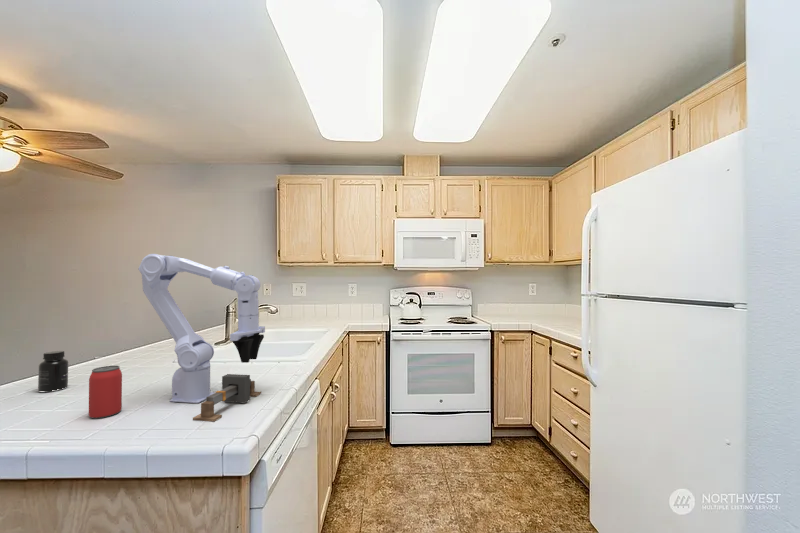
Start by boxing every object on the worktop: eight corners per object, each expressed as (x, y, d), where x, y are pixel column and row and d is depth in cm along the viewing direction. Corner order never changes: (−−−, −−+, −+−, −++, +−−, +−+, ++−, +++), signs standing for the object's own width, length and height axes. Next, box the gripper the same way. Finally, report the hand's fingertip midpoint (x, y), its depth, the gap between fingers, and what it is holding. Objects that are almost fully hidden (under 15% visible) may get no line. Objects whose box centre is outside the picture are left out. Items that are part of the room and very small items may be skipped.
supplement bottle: (71, 388, 113) (71, 351, 113) (41, 394, 107) (42, 355, 107) (64, 385, 116) (64, 349, 117) (35, 390, 111) (36, 353, 111)
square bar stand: (192, 420, 86) (192, 399, 86) (243, 392, 106) (243, 375, 106) (214, 421, 85) (214, 400, 85) (261, 393, 105) (261, 376, 105)
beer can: (94, 421, 86) (94, 372, 86) (84, 416, 89) (85, 369, 90) (125, 412, 92) (126, 366, 92) (115, 407, 95) (116, 363, 95)
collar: (222, 401, 97) (222, 376, 98) (227, 398, 100) (227, 374, 100) (244, 402, 96) (244, 377, 96) (249, 399, 98) (249, 374, 99)
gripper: (245, 318, 96) (246, 367, 96) (273, 312, 111) (274, 355, 110) (223, 318, 97) (223, 366, 97) (253, 312, 112) (253, 355, 111)
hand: (249, 360), depth 104 cm, fingers open, 3 cm apart
